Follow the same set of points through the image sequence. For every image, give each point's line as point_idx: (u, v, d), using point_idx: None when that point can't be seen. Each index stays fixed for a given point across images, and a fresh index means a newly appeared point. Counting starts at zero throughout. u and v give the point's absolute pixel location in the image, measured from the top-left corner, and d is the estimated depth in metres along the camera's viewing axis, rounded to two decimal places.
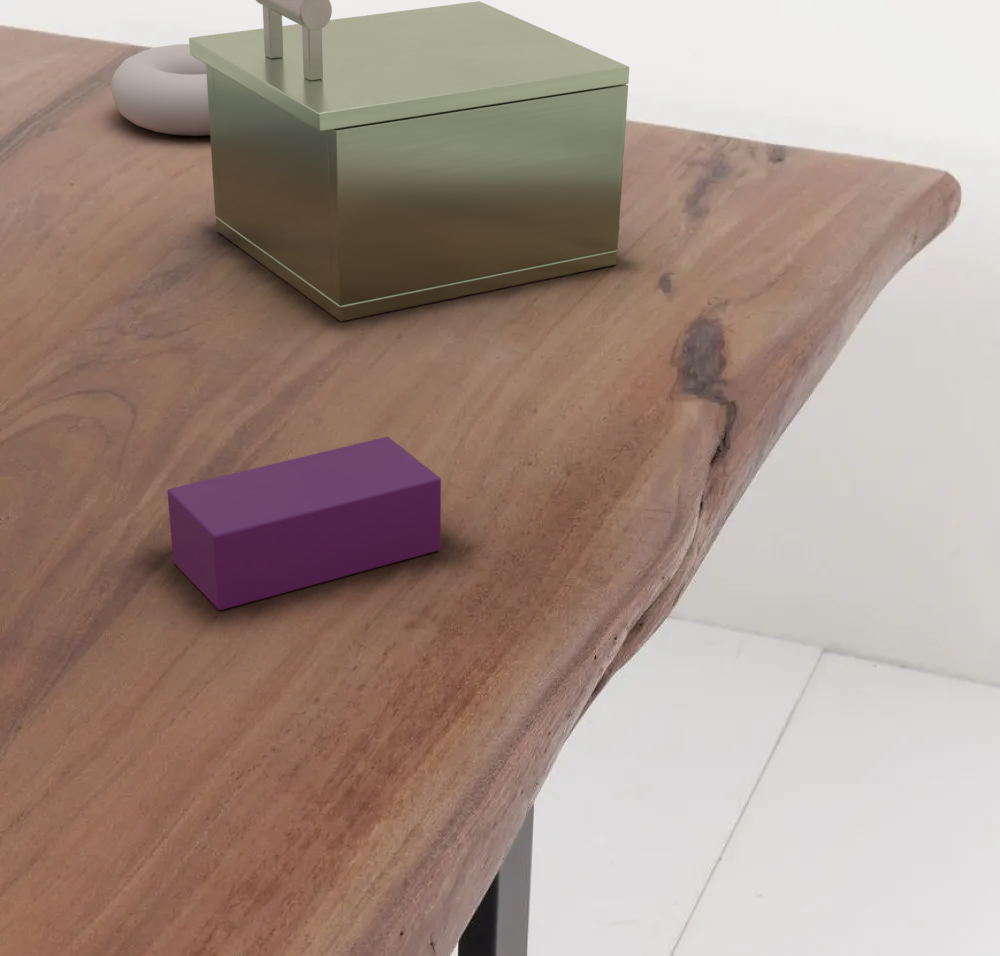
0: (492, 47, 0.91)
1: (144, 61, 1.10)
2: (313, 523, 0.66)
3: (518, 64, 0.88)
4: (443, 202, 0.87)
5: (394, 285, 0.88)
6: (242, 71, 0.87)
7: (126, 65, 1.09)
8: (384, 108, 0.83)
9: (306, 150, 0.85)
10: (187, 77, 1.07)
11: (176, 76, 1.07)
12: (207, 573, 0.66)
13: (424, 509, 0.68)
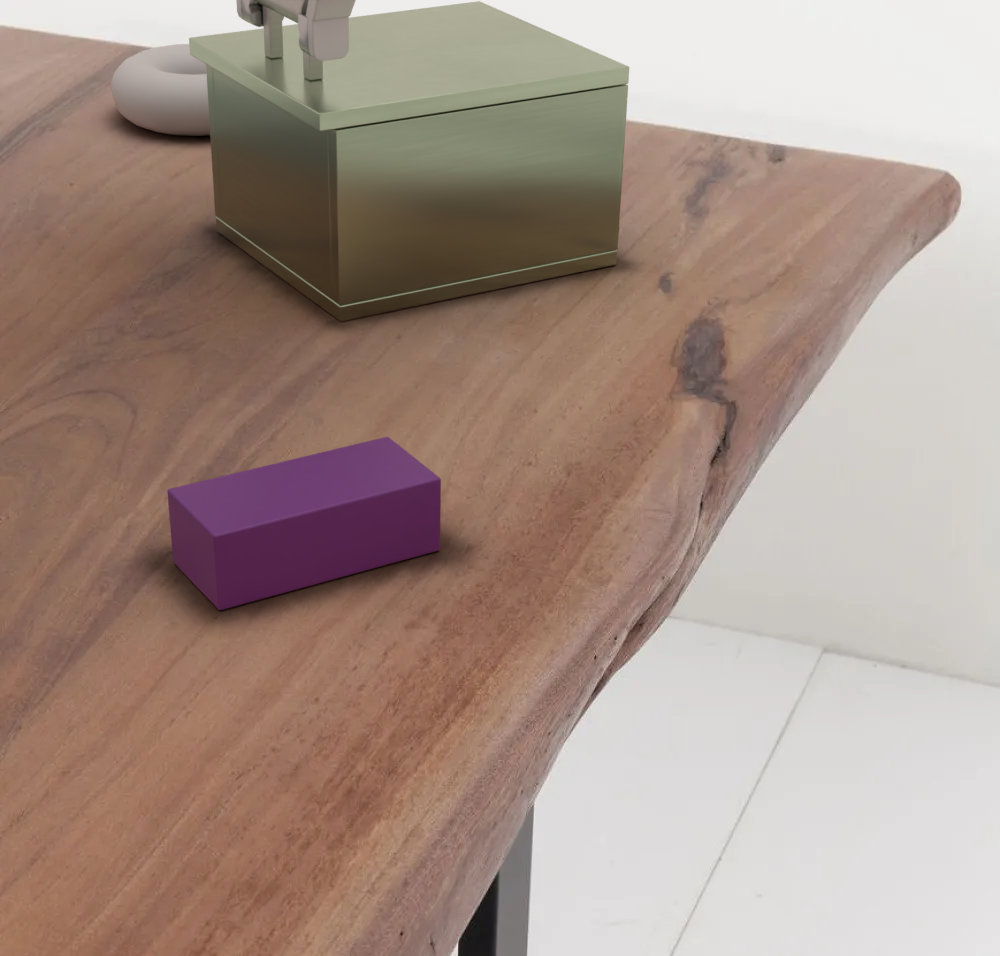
0: (492, 47, 0.91)
1: (144, 61, 1.10)
2: (313, 523, 0.66)
3: (518, 64, 0.88)
4: (443, 202, 0.87)
5: (394, 285, 0.88)
6: (242, 71, 0.87)
7: (126, 65, 1.09)
8: (384, 108, 0.83)
9: (306, 150, 0.85)
10: (187, 77, 1.07)
11: (176, 76, 1.07)
12: (207, 573, 0.66)
13: (424, 509, 0.68)
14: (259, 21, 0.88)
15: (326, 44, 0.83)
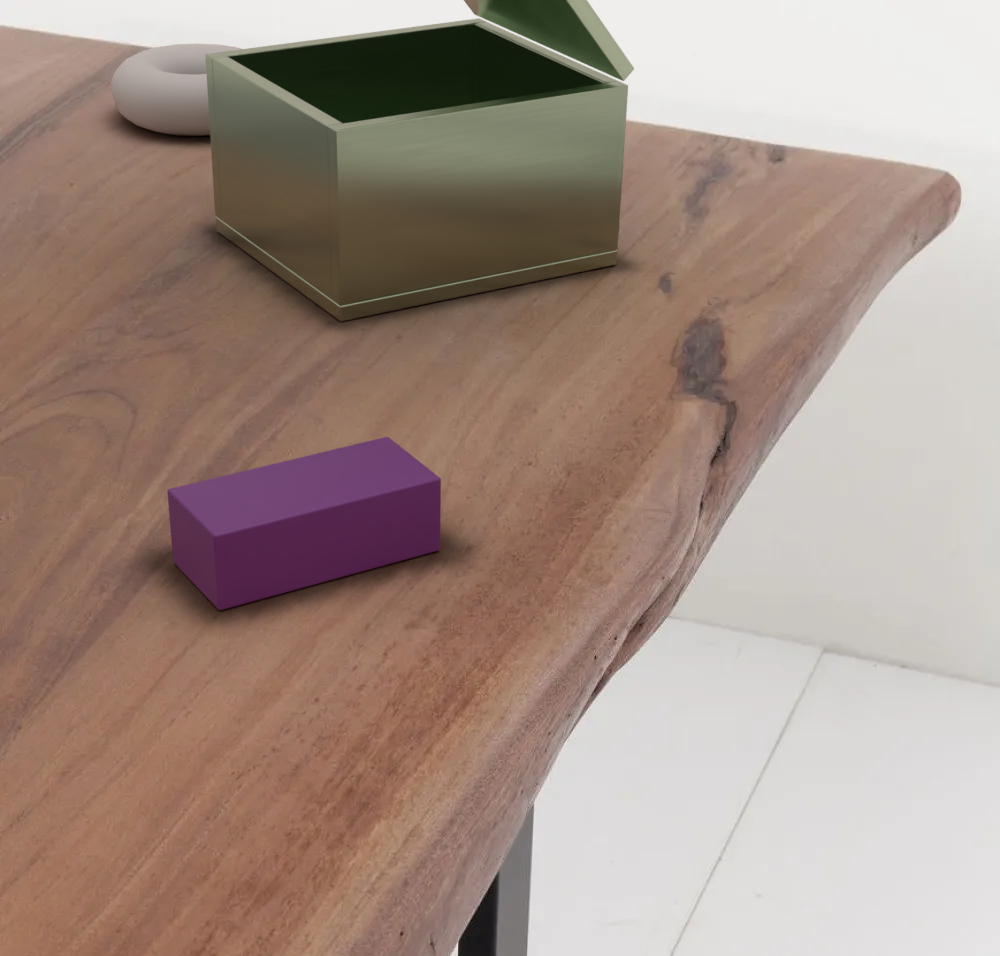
0: None
1: (144, 61, 1.10)
2: (313, 523, 0.66)
3: None
4: (443, 202, 0.87)
5: (394, 285, 0.88)
6: None
7: (126, 65, 1.09)
8: None
9: (306, 150, 0.85)
10: (187, 77, 1.07)
11: (176, 76, 1.07)
12: (207, 573, 0.66)
13: (424, 509, 0.68)
14: None
15: None
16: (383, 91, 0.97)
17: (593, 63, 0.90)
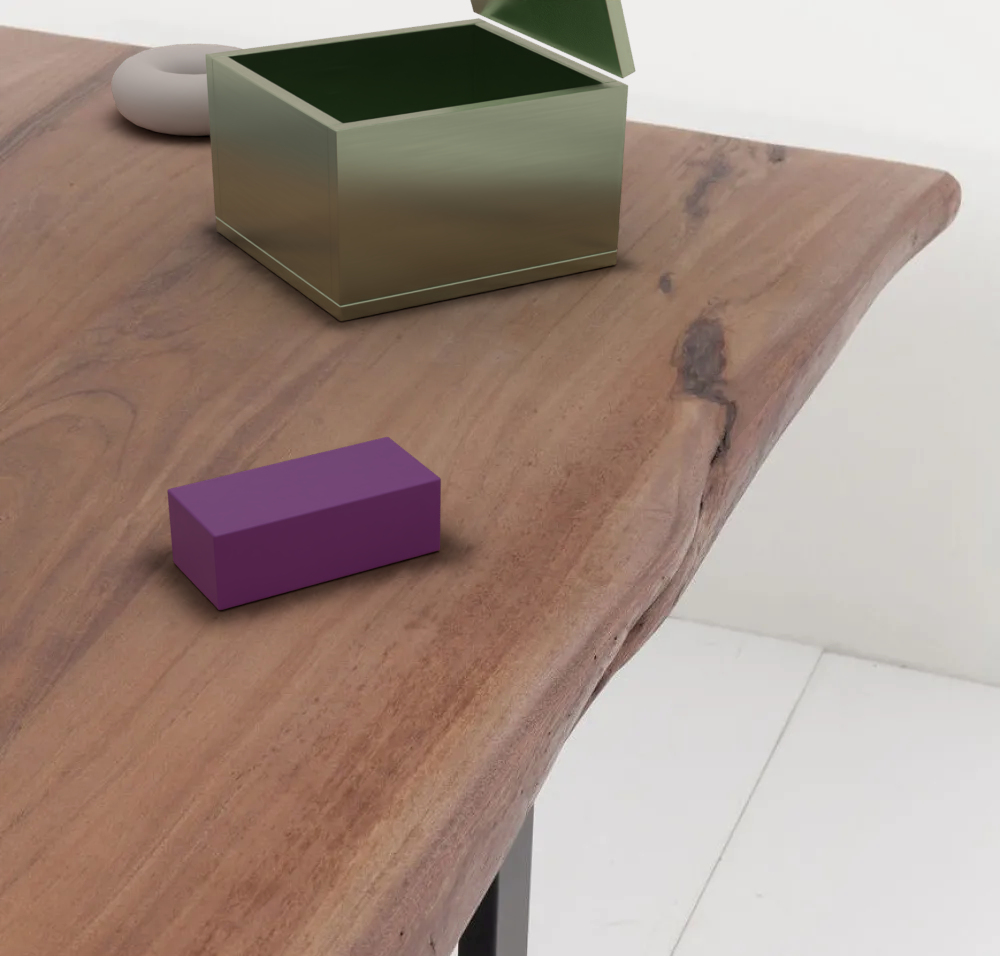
0: None
1: (144, 61, 1.10)
2: (313, 523, 0.66)
3: None
4: (443, 202, 0.87)
5: (394, 285, 0.88)
6: None
7: (126, 65, 1.09)
8: None
9: (306, 150, 0.85)
10: (187, 77, 1.07)
11: (176, 76, 1.07)
12: (207, 573, 0.66)
13: (424, 509, 0.68)
14: None
15: None
16: (383, 91, 0.97)
17: (595, 58, 0.90)
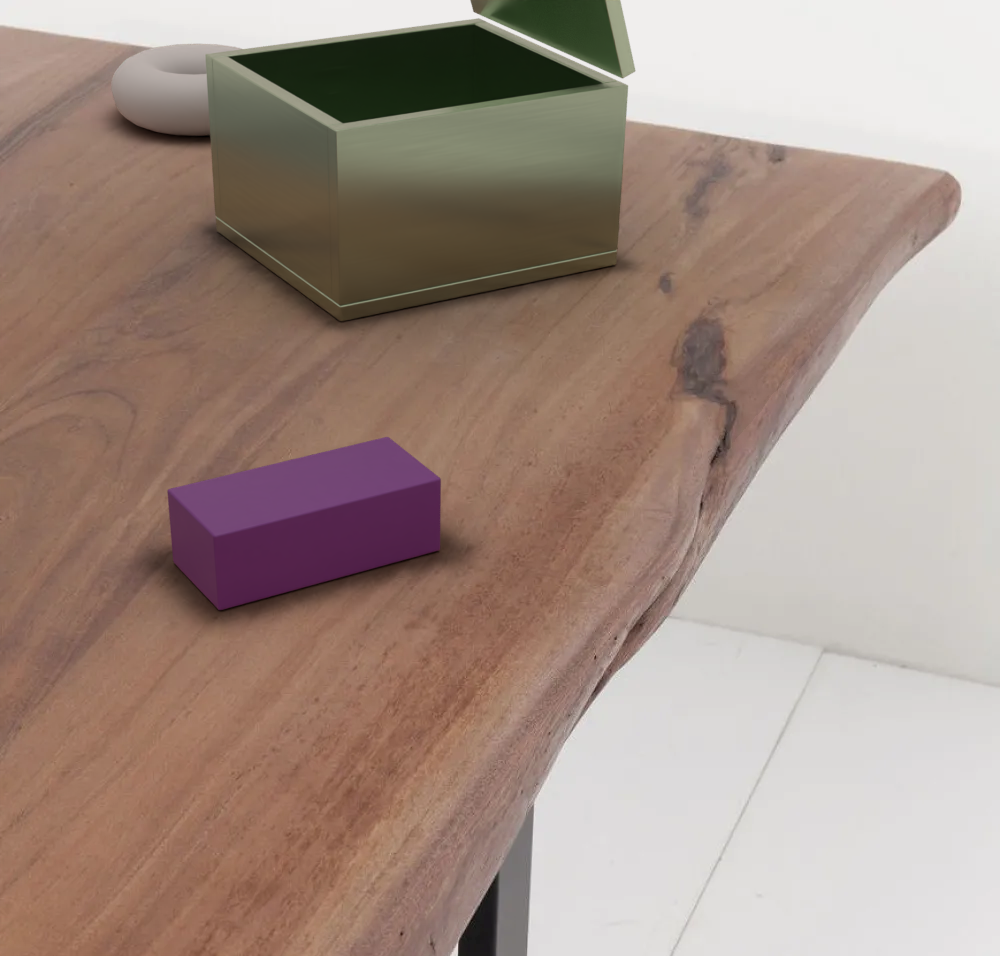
0: None
1: (144, 61, 1.10)
2: (313, 523, 0.66)
3: None
4: (443, 202, 0.87)
5: (394, 285, 0.88)
6: None
7: (126, 65, 1.09)
8: None
9: (306, 150, 0.85)
10: (187, 77, 1.07)
11: (176, 76, 1.07)
12: (207, 573, 0.66)
13: (424, 509, 0.68)
14: None
15: None
16: (383, 91, 0.97)
17: (595, 58, 0.90)
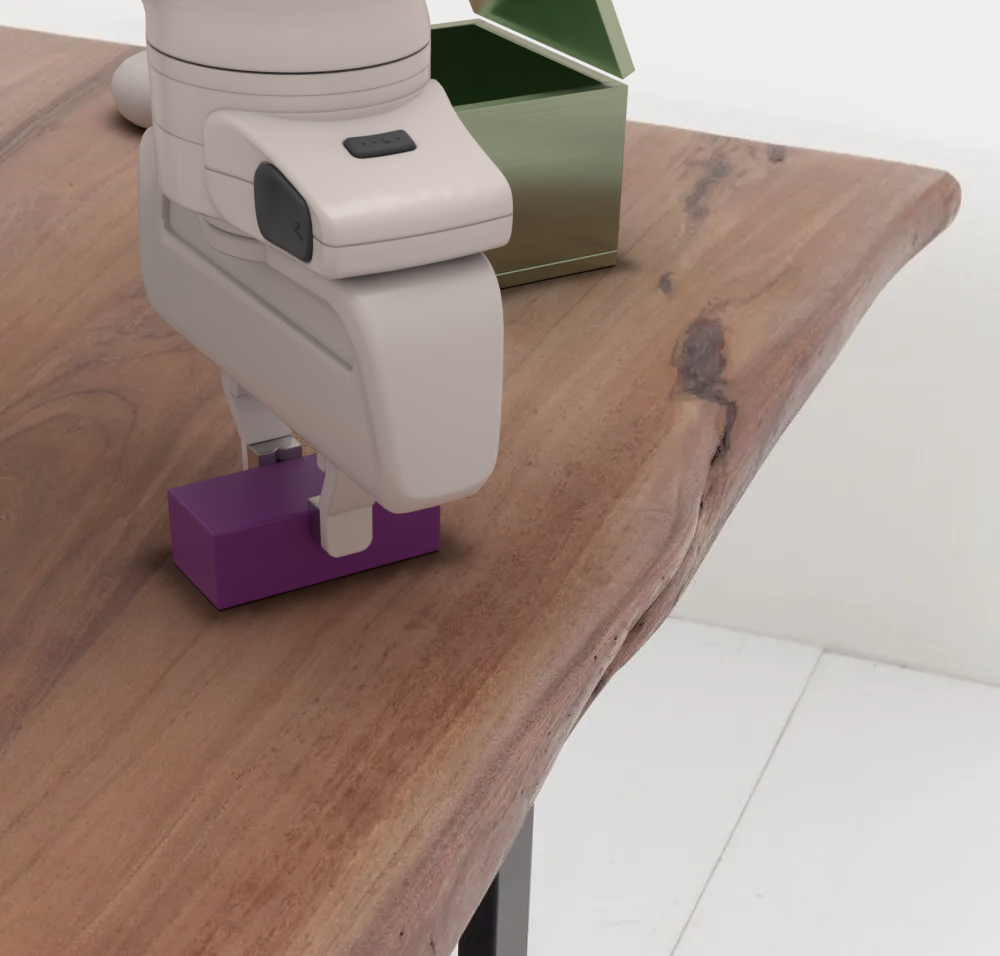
0: None
1: (144, 61, 1.10)
2: None
3: None
4: None
5: None
6: None
7: (126, 65, 1.09)
8: None
9: None
10: None
11: None
12: (207, 573, 0.66)
13: None
14: None
15: (343, 538, 0.65)
16: None
17: (594, 60, 0.90)
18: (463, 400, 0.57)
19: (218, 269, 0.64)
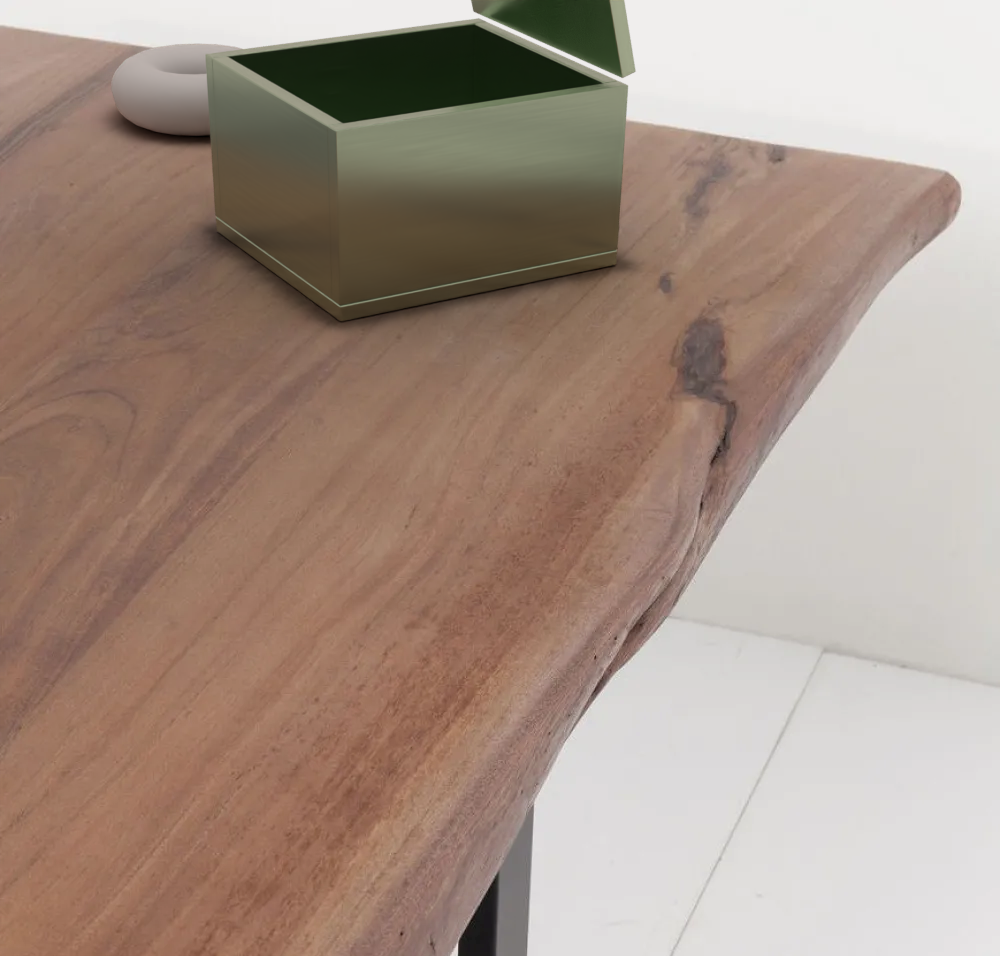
0: None
1: (144, 61, 1.10)
2: None
3: None
4: (443, 202, 0.87)
5: (394, 285, 0.88)
6: None
7: (126, 65, 1.09)
8: None
9: (306, 150, 0.85)
10: (187, 77, 1.07)
11: (176, 76, 1.07)
12: None
13: None
14: None
15: None
16: (383, 91, 0.97)
17: (595, 57, 0.90)
18: None
19: None
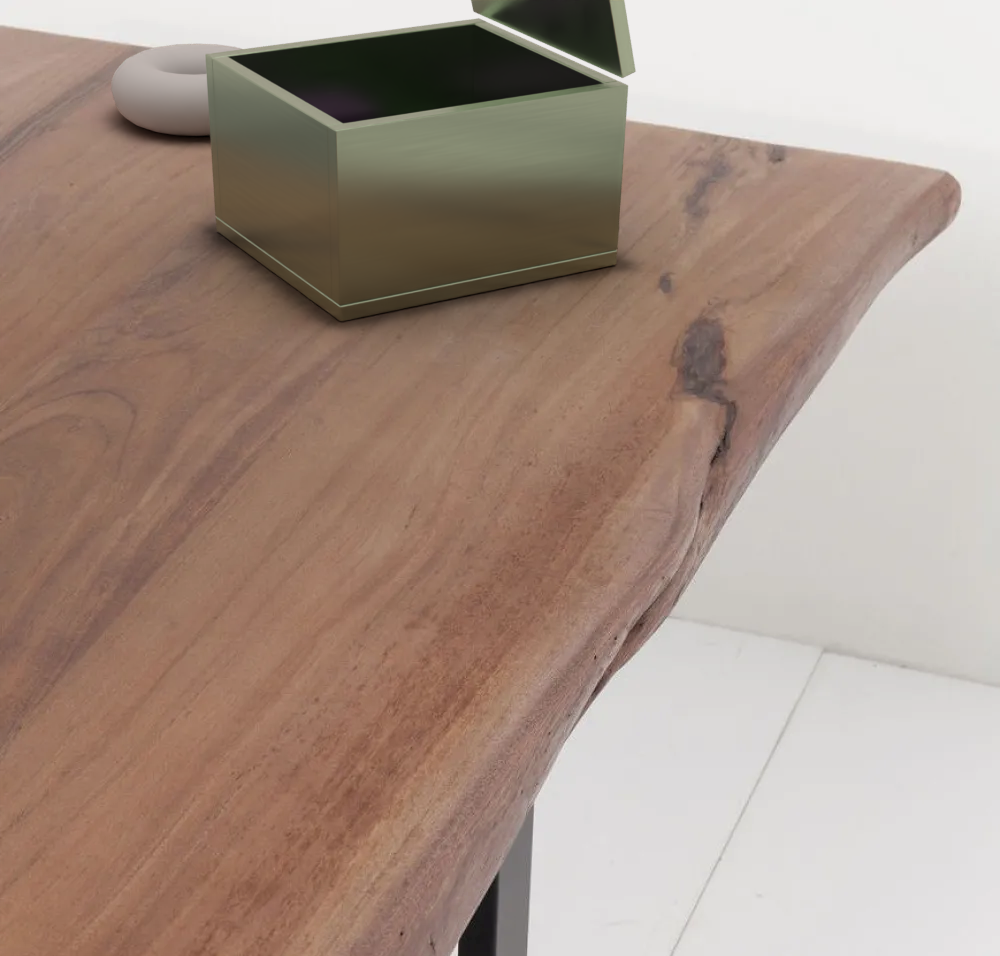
0: None
1: (144, 61, 1.10)
2: None
3: None
4: (443, 202, 0.87)
5: (394, 285, 0.88)
6: None
7: (126, 65, 1.09)
8: None
9: (306, 150, 0.85)
10: (187, 77, 1.07)
11: (176, 76, 1.07)
12: None
13: None
14: None
15: None
16: (383, 91, 0.97)
17: (595, 57, 0.90)
18: None
19: None
